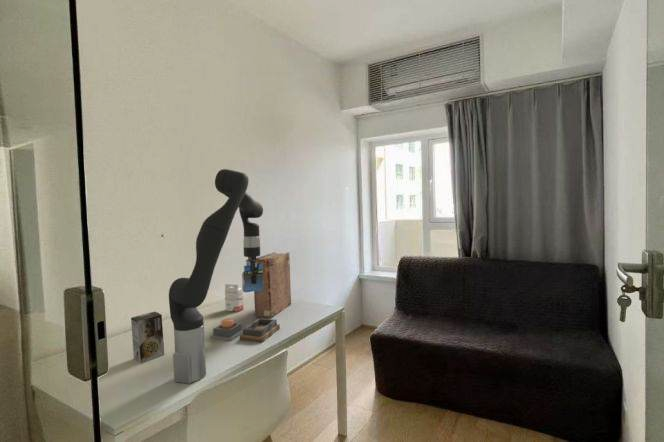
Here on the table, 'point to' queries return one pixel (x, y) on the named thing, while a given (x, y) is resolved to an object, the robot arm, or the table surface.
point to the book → (273, 285)
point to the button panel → (227, 332)
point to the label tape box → (246, 280)
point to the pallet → (260, 330)
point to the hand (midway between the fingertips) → (252, 282)
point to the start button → (227, 323)
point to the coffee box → (147, 336)
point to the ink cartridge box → (233, 298)
